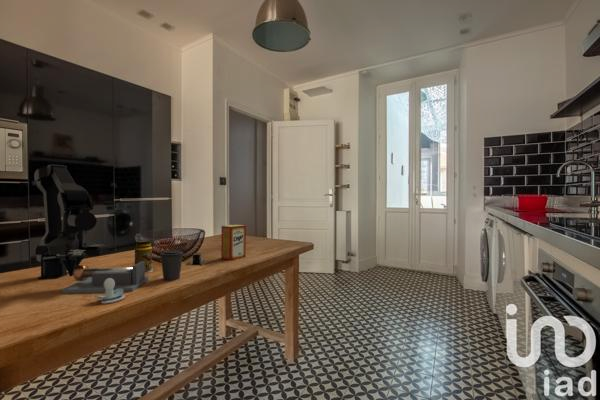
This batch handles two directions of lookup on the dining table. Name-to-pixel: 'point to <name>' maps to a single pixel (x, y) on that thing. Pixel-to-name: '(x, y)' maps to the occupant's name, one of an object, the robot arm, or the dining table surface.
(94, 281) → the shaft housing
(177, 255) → the coffee cup
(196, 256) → the black block
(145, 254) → the condiment
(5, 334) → the dining table surface
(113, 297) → the pacifier
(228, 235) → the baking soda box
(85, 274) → the shaft
